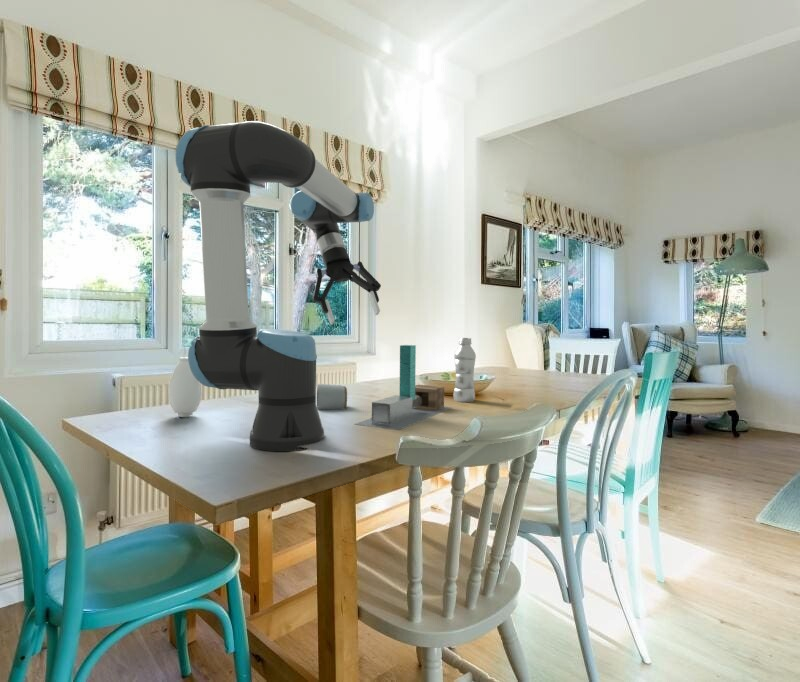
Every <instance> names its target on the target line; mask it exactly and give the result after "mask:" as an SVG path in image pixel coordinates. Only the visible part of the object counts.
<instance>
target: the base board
mask: <svg viewBox="0 0 800 682" xmlns="http://www.w3.org/2000/svg"><path fill="white" fill-rule="evenodd" d="M450 409H452V407H449V406H444V407H443V408H441V409H439V410H436V411H432V410H422V409H412V418H409V419H407V420H404V421H402V422H399V423H397V424H394V425H392V426H382V425H374V424H372V417H371V418H368V419H364V420H363V421H359V422H357V423H354V425H357V426H363V427H364V426H365V427H374V428H381V429H389V430H396V431H397V430H398V431H400V430H403V429H406V428H407V427H410V426H412V425H415V424H417V423H419V422H421V421H424V420H426V419H429V418H431V417H433V416H436V415H438V414H441V413H443V412H444V411H445V412H446V410H450Z"/></svg>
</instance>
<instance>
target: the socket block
mask: <svg viewBox="0 0 800 682" xmlns="http://www.w3.org/2000/svg"><path fill="white" fill-rule="evenodd" d="M416 395H418V396H420V397H421V398H422V404H421V405H420V406H418V407H416V408H413V409H422V410H432V411H436V410H439V409H441V408H443V407H445V386H440V385H438V386H437V385H426V384H415V396H416Z"/></svg>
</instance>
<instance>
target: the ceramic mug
mask: <svg viewBox="0 0 800 682" xmlns="http://www.w3.org/2000/svg"><path fill="white" fill-rule="evenodd" d="M347 404H348V389H347V387H346V386H345V385H341V384H330V383H329V384H327V383H318V384H317V386H316V407H317V410H318V411H320V410H344V409H345V410H346V409H347Z"/></svg>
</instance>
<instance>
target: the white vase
mask: <svg viewBox="0 0 800 682" xmlns="http://www.w3.org/2000/svg"><path fill="white" fill-rule="evenodd" d="M167 390H168V401H169V405H170V407H171V409H172V411H173V412H174V414H177V416H178V417H181V418H183V417H185V418H190V416H193V414H194V413H195V412H197V410H198V409H199V406H200V404H201V400H202V384H201V383H200V382H199V381H198V380H197V379H196V378H195V377H194V376H193V374H192V372H191V369H190V366H189V361H188V356H186V347H185V346H184V347H183V357H181V356H180V357H179V358H178V362H177V363H176V365H175V366H174V368H173V370H172V373H171V376H170V378H169V383H168V389H167Z"/></svg>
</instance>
